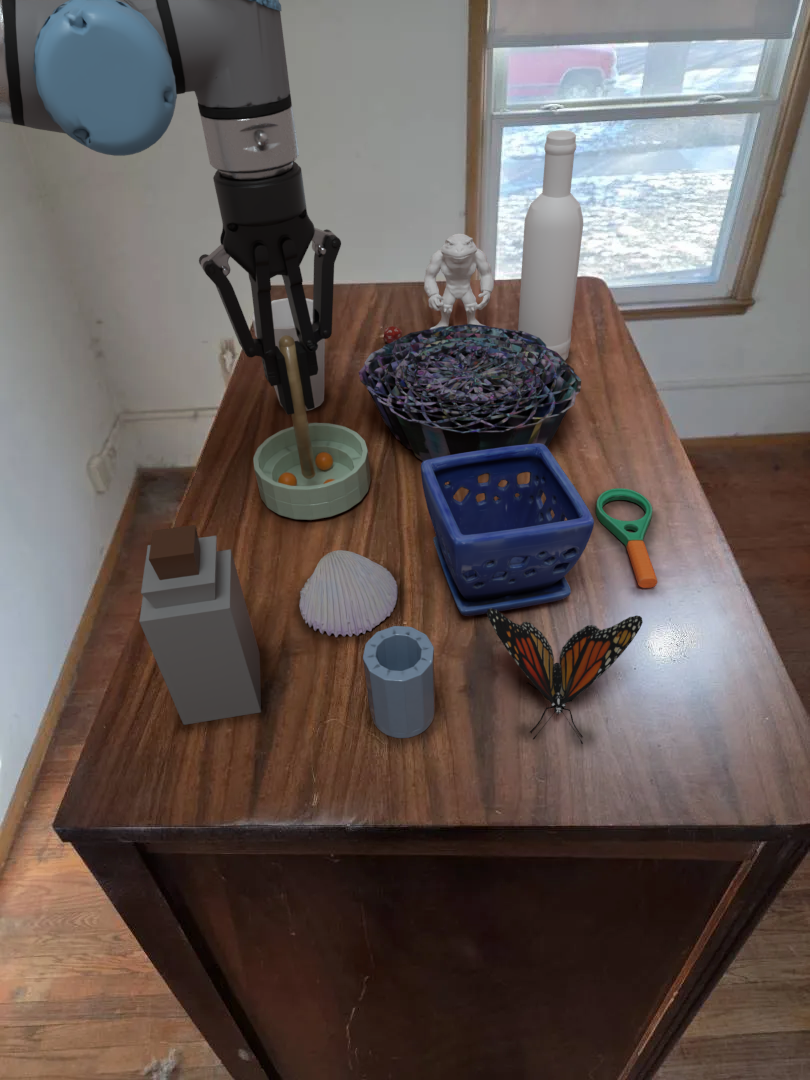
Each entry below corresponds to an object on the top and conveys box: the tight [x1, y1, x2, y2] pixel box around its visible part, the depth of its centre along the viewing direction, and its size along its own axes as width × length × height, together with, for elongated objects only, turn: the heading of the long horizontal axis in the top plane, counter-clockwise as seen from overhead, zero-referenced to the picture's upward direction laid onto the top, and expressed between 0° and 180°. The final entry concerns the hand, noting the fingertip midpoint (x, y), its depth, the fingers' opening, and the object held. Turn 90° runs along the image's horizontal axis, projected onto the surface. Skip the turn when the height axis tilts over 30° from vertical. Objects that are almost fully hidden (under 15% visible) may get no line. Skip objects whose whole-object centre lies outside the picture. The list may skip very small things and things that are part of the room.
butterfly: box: [486, 608, 644, 745], centre depth 61 cm, size 12×10×10 cm
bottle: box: [517, 129, 584, 361], centre depth 101 cm, size 8×8×30 cm
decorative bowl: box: [358, 324, 582, 462], centre depth 94 cm, size 26×28×10 cm
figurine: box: [423, 233, 495, 329], centre depth 113 cm, size 11×7×15 cm, turn 90°
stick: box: [279, 335, 316, 479], centre depth 79 cm, size 2×2×18 cm
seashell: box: [298, 549, 399, 638], centre depth 74 cm, size 10×6×10 cm
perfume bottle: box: [138, 524, 262, 726], centre depth 61 cm, size 7×7×18 cm
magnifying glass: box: [595, 487, 659, 589], centre depth 79 cm, size 15×6×2 cm, turn 179°
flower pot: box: [420, 443, 595, 617], centre depth 72 cm, size 13×13×12 cm
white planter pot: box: [251, 297, 326, 412], centre depth 100 cm, size 10×9×13 cm
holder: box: [362, 625, 436, 739], centre depth 62 cm, size 6×6×8 cm
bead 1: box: [278, 472, 297, 486], centre depth 87 cm, size 2×2×2 cm
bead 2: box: [315, 452, 333, 470], centre depth 90 cm, size 2×2×2 cm
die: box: [382, 325, 403, 344], centre depth 114 cm, size 3×3×3 cm
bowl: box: [252, 422, 371, 521], centre depth 87 cm, size 13×13×5 cm
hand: (297, 405), depth 78 cm, fingers closed on stick, 1 cm apart
